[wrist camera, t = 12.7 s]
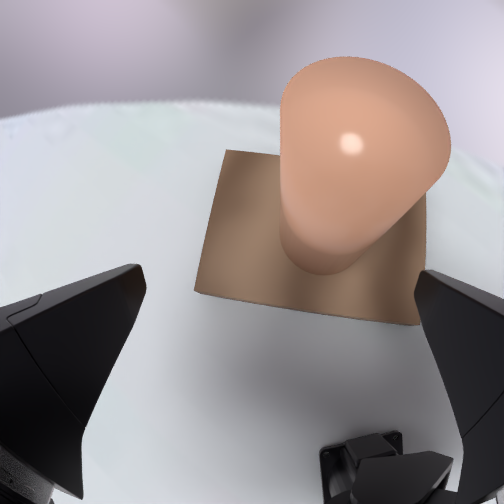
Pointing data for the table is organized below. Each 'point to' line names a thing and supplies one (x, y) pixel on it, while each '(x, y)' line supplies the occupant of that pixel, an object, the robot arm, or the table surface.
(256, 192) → the shelf board
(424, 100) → the peach cylinder
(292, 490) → the table surface
